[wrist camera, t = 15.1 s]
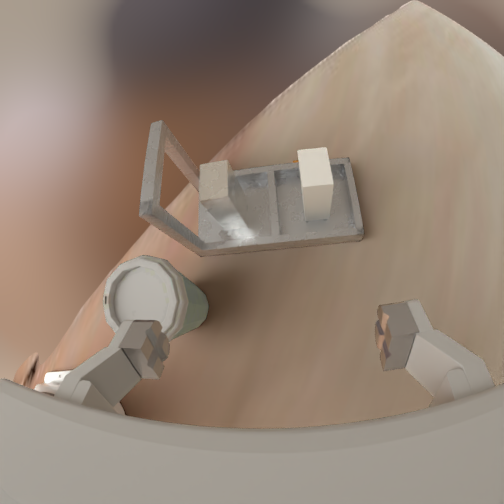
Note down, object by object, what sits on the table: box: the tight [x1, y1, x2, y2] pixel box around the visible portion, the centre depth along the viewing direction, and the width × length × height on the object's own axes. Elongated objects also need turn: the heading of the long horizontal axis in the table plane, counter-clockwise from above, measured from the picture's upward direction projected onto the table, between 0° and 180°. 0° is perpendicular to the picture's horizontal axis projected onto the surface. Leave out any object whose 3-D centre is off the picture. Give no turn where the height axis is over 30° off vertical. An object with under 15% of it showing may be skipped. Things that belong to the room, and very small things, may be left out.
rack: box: [139, 120, 364, 257], centre depth 36 cm, size 24×12×18 cm, turn 94°
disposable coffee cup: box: [103, 255, 209, 342], centre depth 36 cm, size 11×11×15 cm
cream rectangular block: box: [297, 147, 334, 221], centre depth 37 cm, size 4×5×11 cm
